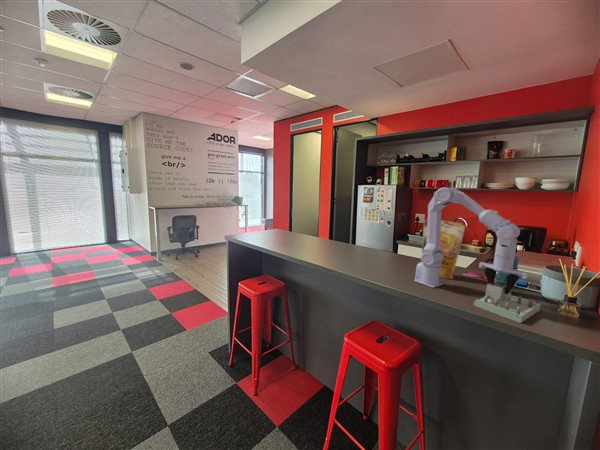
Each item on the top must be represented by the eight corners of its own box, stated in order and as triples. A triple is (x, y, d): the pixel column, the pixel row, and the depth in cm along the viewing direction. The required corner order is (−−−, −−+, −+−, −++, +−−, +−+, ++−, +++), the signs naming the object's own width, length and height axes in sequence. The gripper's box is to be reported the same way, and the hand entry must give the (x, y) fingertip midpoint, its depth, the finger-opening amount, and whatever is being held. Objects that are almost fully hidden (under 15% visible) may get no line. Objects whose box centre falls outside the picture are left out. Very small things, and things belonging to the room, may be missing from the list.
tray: (473, 305, 94) (475, 295, 93) (494, 295, 103) (496, 286, 103) (520, 323, 82) (522, 311, 82) (539, 310, 92) (541, 300, 91)
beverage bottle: (490, 289, 110) (497, 245, 107) (500, 287, 112) (507, 244, 109) (507, 295, 104) (515, 249, 101) (517, 293, 106) (525, 248, 103)
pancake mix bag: (421, 268, 138) (426, 217, 133) (459, 278, 123) (466, 222, 119) (415, 270, 134) (420, 218, 129) (453, 281, 119) (461, 223, 114)
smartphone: (497, 283, 117) (462, 273, 128) (497, 285, 117) (462, 275, 129) (502, 280, 121) (468, 271, 133) (502, 282, 121) (467, 272, 133)
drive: (485, 297, 94) (487, 283, 93) (495, 293, 99) (497, 279, 98) (499, 302, 90) (501, 288, 90) (509, 297, 95) (512, 283, 94)
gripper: (477, 252, 96) (472, 286, 98) (525, 262, 84) (518, 300, 86) (485, 250, 100) (481, 282, 102) (532, 260, 88) (526, 296, 90)
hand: (498, 290), depth 94 cm, fingers closed on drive, 5 cm apart
